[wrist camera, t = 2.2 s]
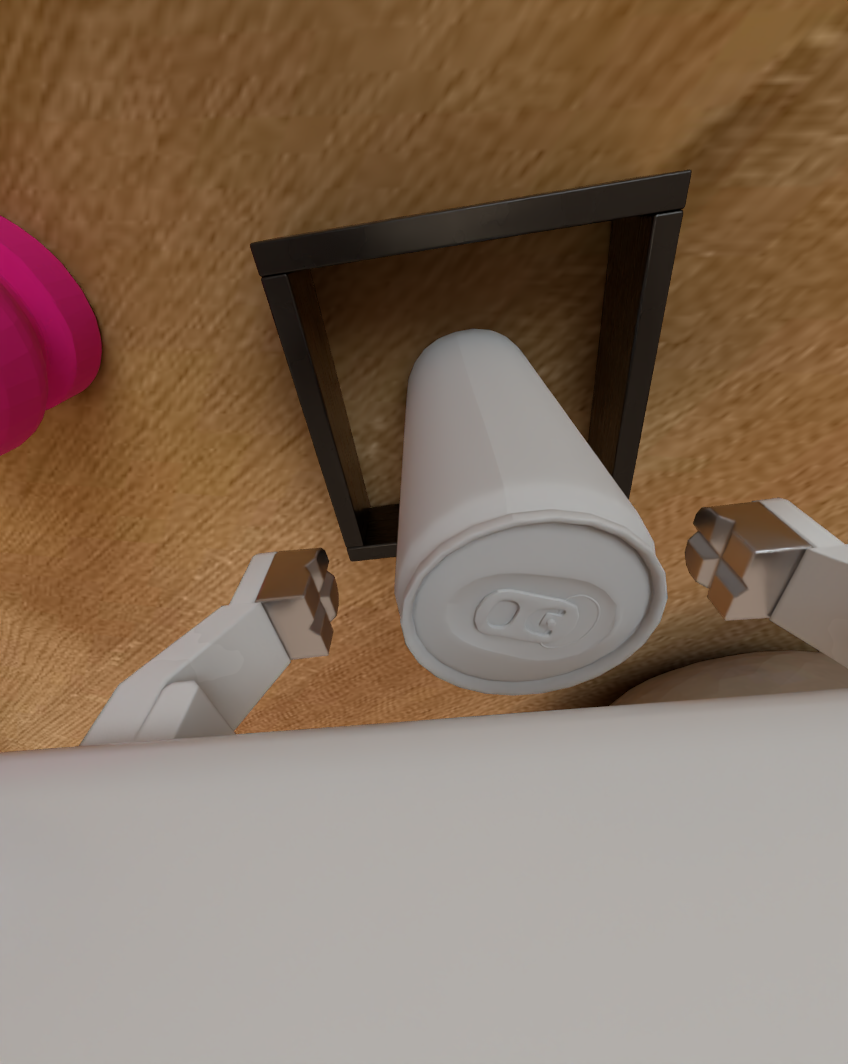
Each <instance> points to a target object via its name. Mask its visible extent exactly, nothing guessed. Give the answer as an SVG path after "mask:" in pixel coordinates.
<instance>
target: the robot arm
mask: <svg viewBox="0 0 848 1064" xmlns="http://www.w3.org/2000/svg"><path fill="white" fill-rule="evenodd" d="M693 524H694V526H695V527H696V529H697V530H698V531H697V532H696V533H695V534H694V535H693V536H692V537H691V538H690V539H689V540H688V542H687V546H686V549H685V560H686V566H687V568H688V571H689V573H690V574H691V576H692V577H693V579H694V580H695V581H696V582H697V583H699V584H701V585H703V586H705V587H707V588H709V590H708V595H707V597H708V599H709V600H710V601H711V603H712V604H713V605H714V607H715V608H716V609H717V611H718V612H719V613H720V615H721V616H722V617H723V618H724V620H725V621H726V620H742V619H758V618H770V619H769V620H770V621H772V622H774V623H775V624H777V625H778V626H780V627H782V628H783V629H785V630H787V631H788V632H790V633H791V634H793V635H795V636H796V637H798V638H799V639H801V640H803V641H804V642H806V643H807V644H809V645H811V646H812V647H814V648H816V649H817V650H819V651H820V652H822V653H824V654H825V655H827V656H828V657H830V658H832V659H833V660H835V661H836V662H838V663H840V664H841V665H843V666H845V667H846V668H848V544H847V545H845V544H844V543H843V542H841V541H840V540H839V539H837V538H836V537H835V536H834V535H832V534H831V533H830V532H828V531H827V530H826V529H824V528H823V527H822V526H821V525H819V524H818V523H817V522H815V521H814V520H813V519H811V518H810V517H809V516H808V515H806V514H805V513H804V512H802V511H801V510H800V509H798V508H797V507H796V506H795V505H793V504H792V503H791V502H789V501H788V500H785V499H782V498H772V499H765V500H757V501H752V502H747V503H738V504H729V505H720V506H711V507H702V508H701V509H700V510H699V511H698V512H697V514H696V516H695V519H694V522H693ZM328 564H329V560H328V557H327V555H326V552H325V550H324V549H322V548H312V549H300V550H289V551H279V552H268V553H258V554H256V555H255V556H253V557H252V559H251V561H250V563H249V565H248V567H247V569H246V571H245V573H244V575H243V577H242V580H241V582H240V584H239V586H238V588H237V590H236V592H235V594H234V596H233V598H232V600H231V602H230V604H229V605H226V606H221V607H220V608H219V609H217V610H216V611H215V612H213V613H212V614H211V615H209V616H208V617H207V618H206V619H204V620H203V621H202V622H200V623H199V624H198V625H196V626H195V627H194V628H192V629H191V630H190V631H188V632H187V633H186V634H184V635H183V636H182V637H181V638H179V639H178V640H177V641H175V642H174V643H173V644H171V645H170V646H169V647H167V648H166V649H165V650H163V651H162V652H161V653H160V654H158V655H157V656H156V657H154V658H153V659H152V660H150V661H149V662H148V663H146V664H145V665H144V666H142V667H141V668H140V669H138V670H137V671H136V672H135V673H133V674H132V675H131V676H129V677H128V678H127V679H125V680H124V681H123V682H121V683H120V684H119V685H118V686H117V688H116V689H115V691H114V692H113V694H112V695H111V697H110V699H109V700H108V702H107V703H106V705H105V706H104V708H103V709H102V711H101V713H100V714H99V716H98V717H97V719H96V720H95V722H94V723H93V725H92V726H91V728H90V730H89V731H88V733H87V734H86V736H85V737H84V739H83V740H82V742H81V743H80V745H79V746H75V747H61V748H48V749H35V750H22V751H9V752H0V1064H848V688H841V689H827V690H814V691H801V692H788V693H775V694H762V695H749V696H736V697H723V698H710V699H697V700H684V701H671V702H658V703H645V704H631V705H618V706H605V707H591V708H578V709H565V710H551V711H538V712H525V713H511V714H498V715H485V716H471V717H458V718H445V719H431V720H418V721H405V722H392V723H379V724H365V725H352V726H339V727H326V728H313V729H299V730H286V731H273V732H260V733H246V734H236V733H235V732H234V730H235V729H236V728H237V727H238V725H239V724H240V723H241V722H242V721H243V719H244V718H245V717H246V716H247V715H248V713H249V712H250V711H251V710H252V709H253V707H254V706H255V705H256V704H257V702H258V701H259V700H260V699H261V698H262V696H263V695H264V694H265V693H266V692H267V690H268V689H269V688H270V687H271V686H272V684H273V683H274V682H275V681H276V679H277V678H278V677H279V676H280V675H281V673H282V672H283V671H284V670H285V669H286V667H287V666H288V665H289V664H290V663H291V661H290V660H293V659H302V658H311V657H319V656H328V655H329V650H330V645H331V641H332V636H333V628H332V626H331V623H330V622H331V621H332V620H333V619H334V618H335V617H336V616H337V612H338V606H339V593H338V588H337V583H336V580H335V577H334V576H333V575H332V574H331V573H329V572H328V571H327V568H328Z"/></svg>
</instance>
